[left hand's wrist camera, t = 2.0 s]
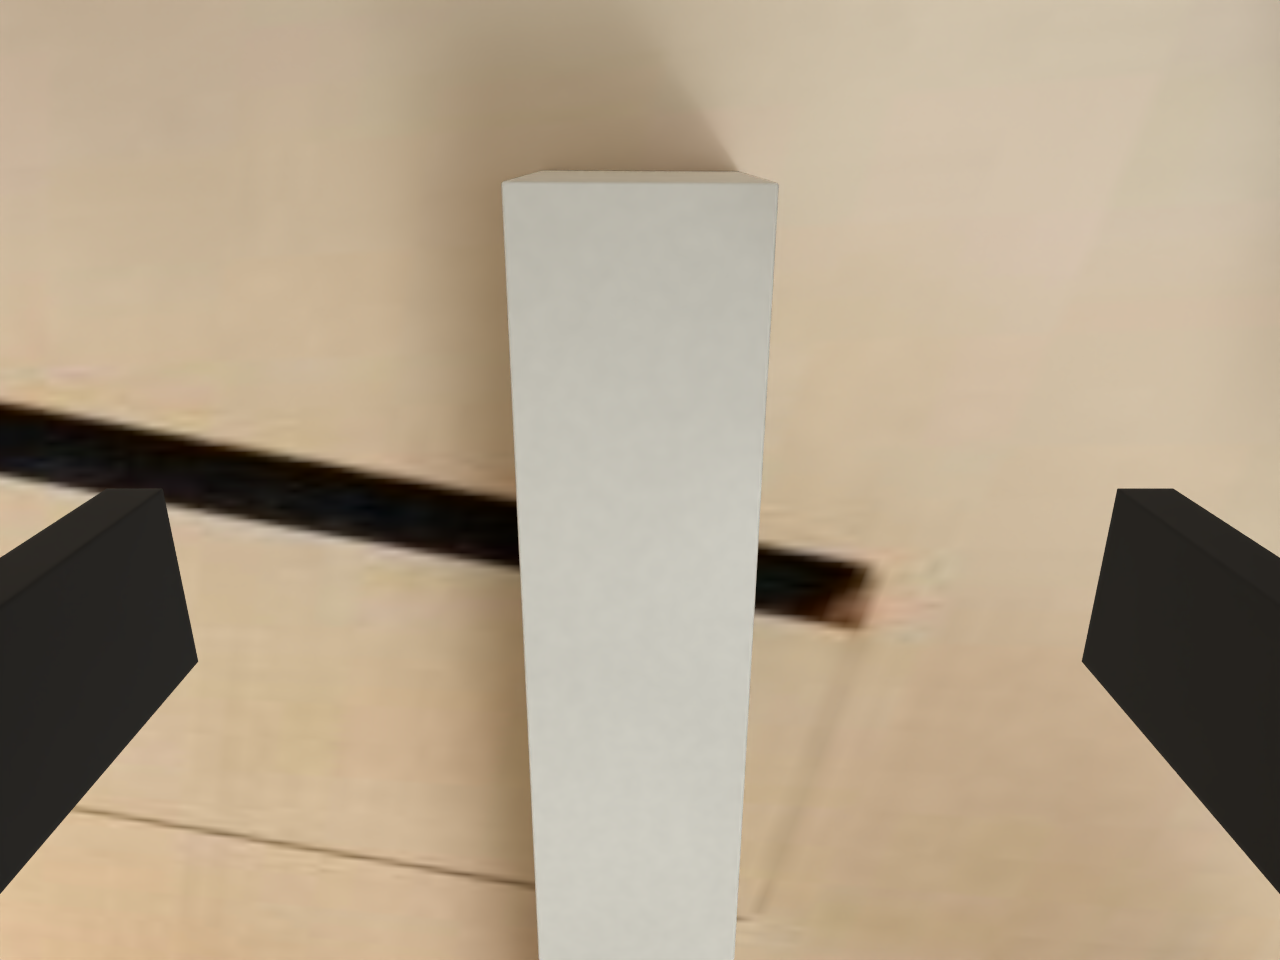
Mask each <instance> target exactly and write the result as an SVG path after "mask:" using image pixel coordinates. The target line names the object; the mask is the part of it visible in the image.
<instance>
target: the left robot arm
mask: <svg viewBox="0 0 1280 960" xmlns="http://www.w3.org/2000/svg"><path fill="white" fill-rule="evenodd" d="M197 662H198V658H197V654H196V649H195V644H194V639H193V634H192V629H191V624H190V620H189V615H188V610H187V605H186V600H185V595H184V590H183V586H182V581H181V576H180V571H179V566H178V561H177V556H176V552H175V547H174V542H173V537H172V532H171V527H170V523H169V518H168V513H167V508H166V503H165V498H164V493H163V489H106V490H104V491H102V492H101V493H99V494H98V495H96V496H95V497H93V498H92V499H90V500H89V501H87V502H85V503H84V504H82V505H81V506H79V507H78V508H76V509H75V510H73V511H72V512H70V513H69V514H67V515H65V516H64V517H62V518H61V519H59V520H58V521H56V522H55V523H53V524H52V525H50V526H48V527H47V528H45V529H44V530H42V531H41V532H39V533H38V534H36V535H35V536H33V537H32V538H30V539H28V540H27V541H25V542H24V543H22V544H21V545H19V546H18V547H16V548H15V549H13V550H11V551H10V552H8V553H7V554H5V555H4V556H2V557H1V558H0V894H1V892H2V891H3V890H4V889H5V888H6V886H7V885H8V884H9V883H10V882H11V881H12V879H13V878H14V877H15V876H16V875H17V874H18V872H19V871H20V870H21V869H22V868H23V867H24V865H25V864H26V863H27V862H28V861H29V859H30V858H31V857H32V856H33V855H34V854H35V852H36V851H37V850H38V849H39V848H40V847H41V845H42V844H43V843H44V842H45V841H46V840H47V838H48V837H49V836H50V835H51V834H52V832H53V831H54V830H55V829H56V828H57V827H58V825H59V824H60V823H61V822H62V821H63V820H64V818H65V817H66V816H67V815H68V814H69V813H70V811H71V810H72V809H73V808H74V807H75V805H76V804H77V803H78V802H79V801H80V800H81V798H82V797H83V796H84V795H85V794H86V793H87V791H88V790H89V789H90V788H91V787H92V786H93V784H94V783H95V782H96V781H97V780H98V778H99V777H100V776H101V775H102V774H103V773H104V771H105V770H106V769H107V768H108V767H109V766H110V764H111V763H112V762H113V761H114V760H115V759H116V757H117V756H118V755H119V754H120V753H121V751H122V750H123V749H124V748H125V747H126V746H127V744H128V743H129V742H130V741H131V740H132V739H133V737H134V736H135V735H136V734H137V733H138V732H139V730H140V729H141V728H142V727H143V726H144V724H145V723H146V722H147V721H148V720H149V719H150V717H151V716H152V715H153V714H154V713H155V712H156V710H157V709H158V708H159V707H160V706H161V705H162V703H163V702H164V701H165V700H166V699H167V697H168V696H169V695H170V694H171V693H172V692H173V690H174V689H175V688H176V687H177V686H178V685H179V683H180V682H181V681H182V680H183V679H184V678H185V676H186V675H187V674H188V673H189V672H190V670H191V669H192V668H193V667H194V666H195V665H196V663H197ZM1082 662H1083V663H1084V665H1085V666H1086V667H1087V668H1088V669H1089V670H1090V672H1091V673H1092V674H1093V675H1094V676H1095V678H1096V679H1097V680H1098V681H1099V682H1100V683H1101V685H1102V686H1103V687H1104V688H1105V689H1106V690H1107V692H1108V693H1109V694H1110V695H1111V696H1112V697H1113V699H1114V700H1115V701H1116V702H1117V703H1118V705H1119V706H1120V707H1121V708H1122V709H1123V710H1124V712H1125V713H1126V714H1127V715H1128V716H1129V717H1130V719H1131V720H1132V721H1133V722H1134V723H1135V724H1136V726H1137V727H1138V728H1139V729H1140V730H1141V732H1142V733H1143V734H1144V735H1145V736H1146V737H1147V739H1148V740H1149V741H1150V742H1151V743H1152V744H1153V746H1154V747H1155V748H1156V749H1157V750H1158V751H1159V753H1160V754H1161V755H1162V756H1163V757H1164V759H1165V760H1166V761H1167V762H1168V763H1169V764H1170V766H1171V767H1172V768H1173V769H1174V770H1175V771H1176V773H1177V774H1178V775H1179V776H1180V777H1181V778H1182V780H1183V781H1184V782H1185V783H1186V784H1187V786H1188V787H1189V788H1190V789H1191V790H1192V791H1193V793H1194V794H1195V795H1196V796H1197V797H1198V798H1199V800H1200V801H1201V802H1202V803H1203V804H1204V805H1205V807H1206V808H1207V809H1208V810H1209V811H1210V813H1211V814H1212V815H1213V816H1214V817H1215V818H1216V820H1217V821H1218V822H1219V823H1220V824H1221V825H1222V827H1223V828H1224V829H1225V830H1226V831H1227V832H1228V834H1229V835H1230V836H1231V837H1232V838H1233V840H1234V841H1235V842H1236V843H1237V844H1238V845H1239V847H1240V848H1241V849H1242V850H1243V851H1244V852H1245V854H1246V855H1247V856H1248V857H1249V858H1250V859H1251V861H1252V862H1253V863H1254V864H1255V865H1256V867H1257V868H1258V869H1259V870H1260V871H1261V872H1262V874H1263V875H1264V876H1265V877H1266V878H1267V879H1268V881H1269V882H1270V883H1271V884H1272V885H1273V886H1274V888H1275V889H1276V890H1277V891H1278V892H1279V894H1280V558H1279V557H1278V556H1276V555H1275V554H1273V553H1272V552H1270V551H1269V550H1267V549H1265V548H1264V547H1262V546H1261V545H1259V544H1258V543H1256V542H1255V541H1253V540H1252V539H1250V538H1248V537H1247V536H1245V535H1244V534H1242V533H1241V532H1239V531H1238V530H1236V529H1235V528H1233V527H1232V526H1230V525H1228V524H1227V523H1225V522H1224V521H1222V520H1221V519H1219V518H1218V517H1216V516H1215V515H1213V514H1211V513H1210V512H1208V511H1207V510H1205V509H1204V508H1202V507H1201V506H1199V505H1198V504H1196V503H1195V502H1193V501H1191V500H1190V499H1188V498H1187V497H1185V496H1184V495H1182V494H1181V493H1179V492H1178V491H1176V490H1174V489H1117V493H1116V498H1115V503H1114V508H1113V513H1112V518H1111V523H1110V527H1109V532H1108V537H1107V542H1106V547H1105V552H1104V556H1103V561H1102V566H1101V571H1100V576H1099V581H1098V586H1097V590H1096V595H1095V600H1094V605H1093V610H1092V615H1091V620H1090V624H1089V629H1088V634H1087V639H1086V644H1085V649H1084V654H1083V658H1082Z"/></svg>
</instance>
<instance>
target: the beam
mask: <svg viewBox="0 0 1280 960" xmlns="http://www.w3.org/2000/svg"><path fill="white" fill-rule="evenodd" d="M501 187H502V208H503V228H504V249H505V270H506V291H507V311H508V332H509V353H510V373H511V394H512V415H513V435H514V456H515V477H516V498H517V518H518V539H519V560H520V580H521V601H522V622H523V642H524V663H525V684H526V705H527V725H528V746H529V767H530V787H531V808H532V829H533V850H534V870H535V891H536V912H537V932H538V953H539V960H734V955H735V938H736V920H737V903H738V886H739V868H740V851H741V833H742V816H743V799H744V781H745V764H746V747H747V729H748V712H749V694H750V677H751V660H752V642H753V625H754V608H755V590H756V573H757V556H758V538H759V521H760V503H761V486H762V469H763V451H764V434H765V417H766V399H767V382H768V364H769V347H770V330H771V312H772V295H773V278H774V260H775V243H776V226H777V208H778V191H779V185H778V183H776V182H772V181H769V180H766V179H762V178H759V177H755V176H752V175H749V174H745V173H742V172H733V171H539V172H535V173H531V174H528V175H524V176H521V177H517V178H514V179H510V180H506V181H503V182H502V184H501Z"/></svg>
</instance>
